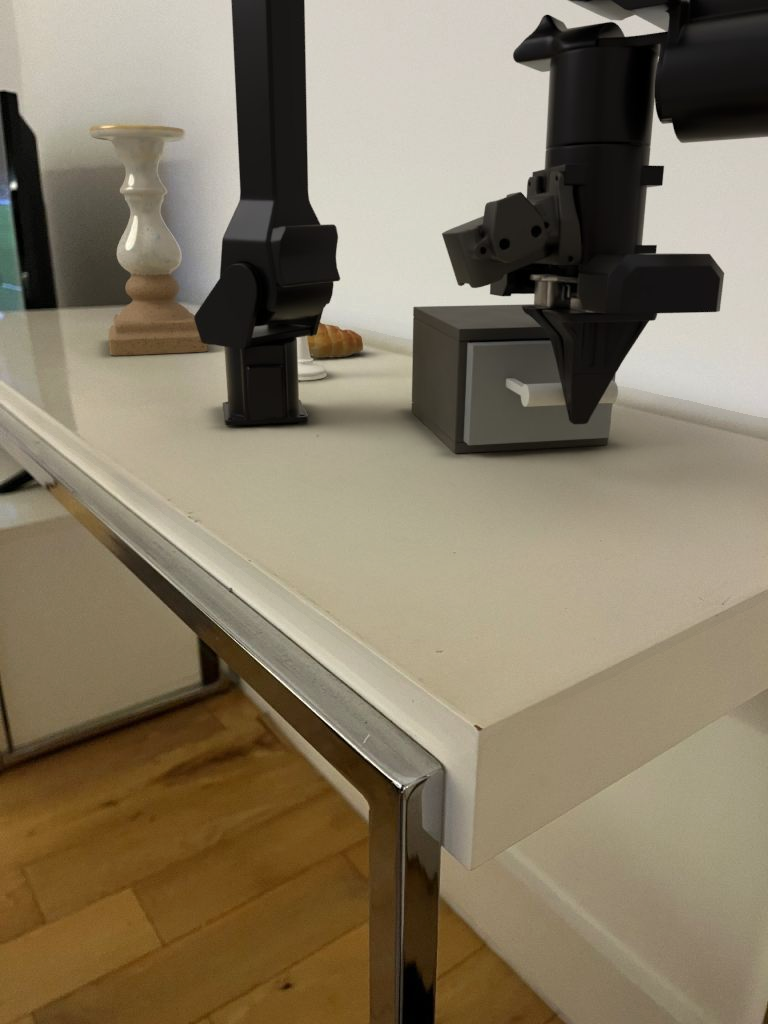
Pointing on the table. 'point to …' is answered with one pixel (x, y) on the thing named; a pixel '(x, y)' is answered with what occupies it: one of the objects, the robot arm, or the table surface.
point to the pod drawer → (523, 396)
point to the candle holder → (148, 250)
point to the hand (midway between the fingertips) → (578, 423)
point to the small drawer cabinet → (464, 367)
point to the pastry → (334, 342)
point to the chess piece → (307, 362)
